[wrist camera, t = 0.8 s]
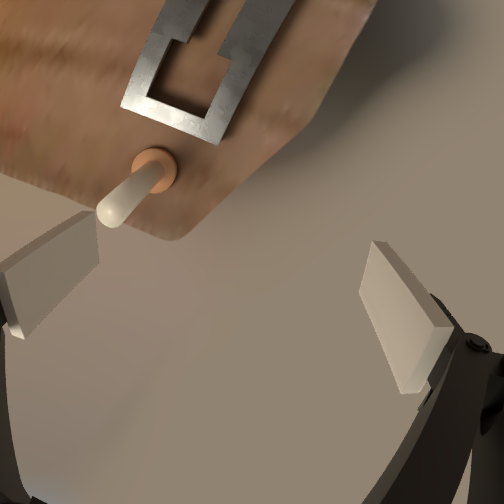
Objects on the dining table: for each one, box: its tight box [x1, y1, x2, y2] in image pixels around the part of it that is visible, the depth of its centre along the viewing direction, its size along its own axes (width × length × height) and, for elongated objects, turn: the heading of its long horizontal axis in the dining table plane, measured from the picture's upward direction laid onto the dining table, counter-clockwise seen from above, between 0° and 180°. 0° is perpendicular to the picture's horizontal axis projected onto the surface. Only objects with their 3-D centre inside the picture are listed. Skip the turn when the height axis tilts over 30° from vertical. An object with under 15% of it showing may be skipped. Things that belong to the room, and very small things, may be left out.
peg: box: [97, 147, 177, 228], centre depth 33 cm, size 6×6×14 cm
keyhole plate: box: [120, 0, 296, 146], centre depth 28 cm, size 24×13×3 cm, turn 154°
